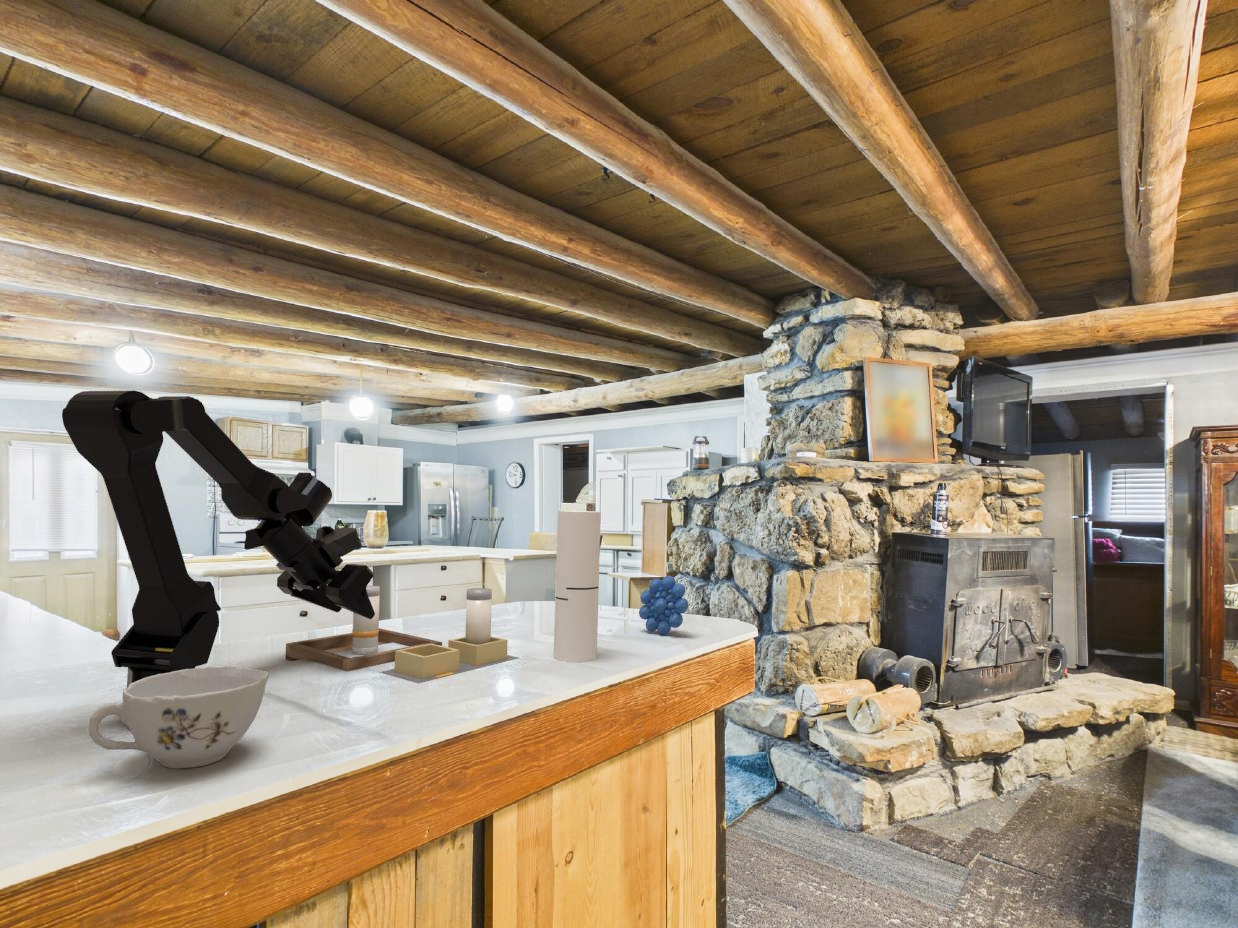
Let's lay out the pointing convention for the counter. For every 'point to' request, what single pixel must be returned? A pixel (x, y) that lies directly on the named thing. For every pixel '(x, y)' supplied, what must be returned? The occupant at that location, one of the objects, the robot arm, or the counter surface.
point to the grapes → (663, 605)
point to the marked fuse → (367, 627)
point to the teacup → (186, 714)
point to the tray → (327, 646)
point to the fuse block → (447, 659)
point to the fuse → (478, 616)
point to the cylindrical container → (577, 586)
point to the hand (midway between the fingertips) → (355, 613)
